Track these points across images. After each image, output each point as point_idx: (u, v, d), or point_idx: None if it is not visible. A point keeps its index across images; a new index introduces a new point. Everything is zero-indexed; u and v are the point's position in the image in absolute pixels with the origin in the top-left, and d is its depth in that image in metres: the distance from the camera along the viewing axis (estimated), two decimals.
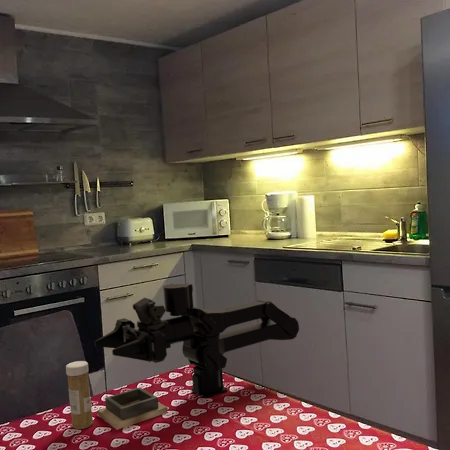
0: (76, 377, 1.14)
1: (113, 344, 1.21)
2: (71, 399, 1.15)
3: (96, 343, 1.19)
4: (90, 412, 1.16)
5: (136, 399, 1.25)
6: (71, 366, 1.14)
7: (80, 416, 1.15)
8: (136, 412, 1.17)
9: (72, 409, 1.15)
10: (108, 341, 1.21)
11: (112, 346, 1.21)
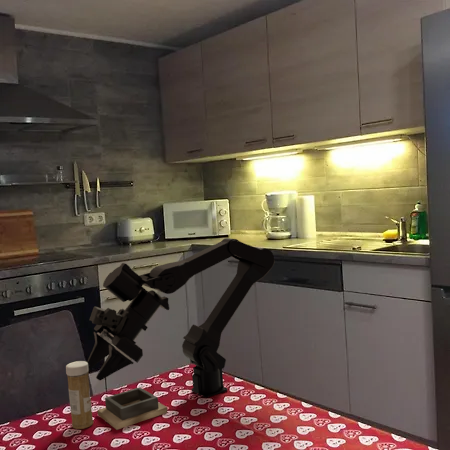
0: (76, 377, 1.14)
1: (103, 354, 1.23)
2: (71, 399, 1.15)
3: (88, 366, 1.21)
4: (90, 412, 1.16)
5: (136, 399, 1.25)
6: (71, 366, 1.14)
7: (80, 416, 1.15)
8: (136, 412, 1.17)
9: (72, 409, 1.15)
10: (97, 356, 1.22)
11: (103, 356, 1.23)
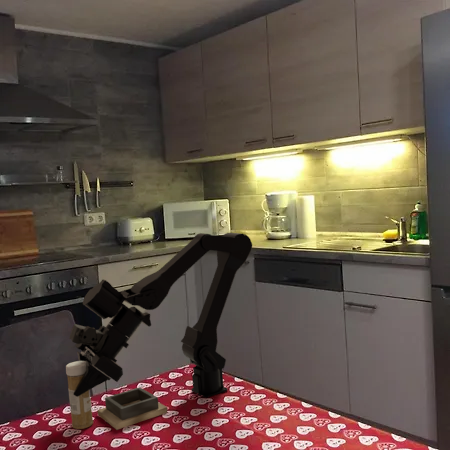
0: (76, 377, 1.14)
1: None
2: (71, 399, 1.15)
3: None
4: (90, 412, 1.16)
5: (136, 399, 1.25)
6: (71, 366, 1.14)
7: (80, 416, 1.15)
8: (136, 412, 1.17)
9: (72, 409, 1.15)
10: None
11: None
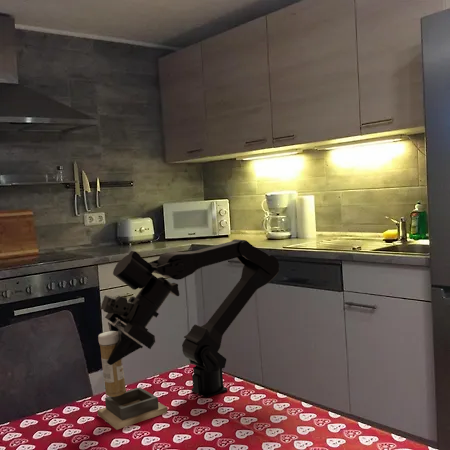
0: (108, 346, 1.16)
1: None
2: (104, 367, 1.17)
3: None
4: (123, 381, 1.19)
5: (136, 399, 1.25)
6: (103, 335, 1.17)
7: (114, 384, 1.17)
8: (136, 412, 1.17)
9: (106, 377, 1.17)
10: None
11: None
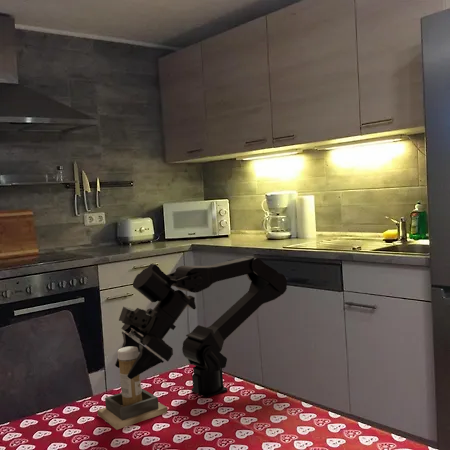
0: (128, 361, 1.18)
1: None
2: (122, 382, 1.19)
3: (117, 366, 1.23)
4: (141, 396, 1.20)
5: None
6: (123, 351, 1.18)
7: (131, 399, 1.19)
8: (136, 412, 1.17)
9: (124, 392, 1.19)
10: None
11: None
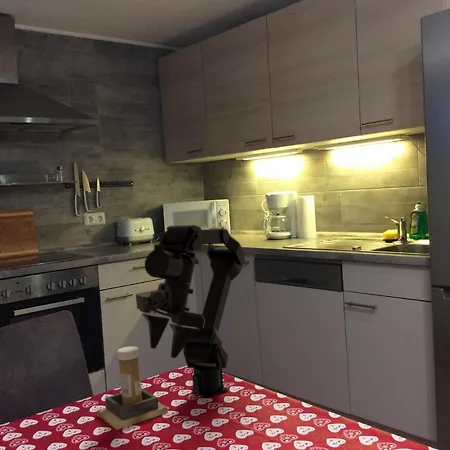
0: (127, 361, 1.18)
1: (161, 330, 1.23)
2: (122, 382, 1.19)
3: (153, 347, 1.22)
4: (141, 396, 1.20)
5: None
6: (123, 351, 1.18)
7: (131, 399, 1.19)
8: (136, 412, 1.17)
9: (123, 392, 1.19)
10: (156, 334, 1.22)
11: (162, 331, 1.23)
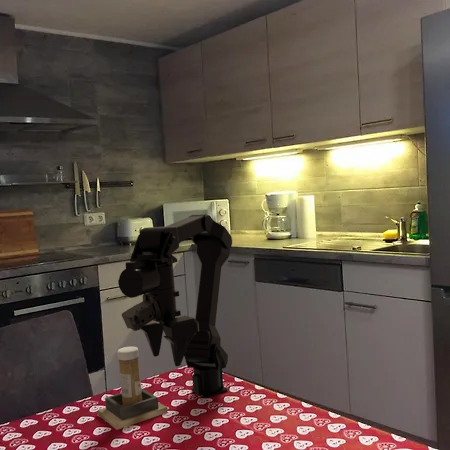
0: (127, 362, 1.18)
1: (159, 335, 1.19)
2: (122, 382, 1.19)
3: (156, 355, 1.18)
4: (141, 396, 1.20)
5: None
6: (123, 351, 1.18)
7: (131, 399, 1.19)
8: (136, 412, 1.17)
9: (124, 392, 1.19)
10: (155, 341, 1.18)
11: (160, 336, 1.19)
